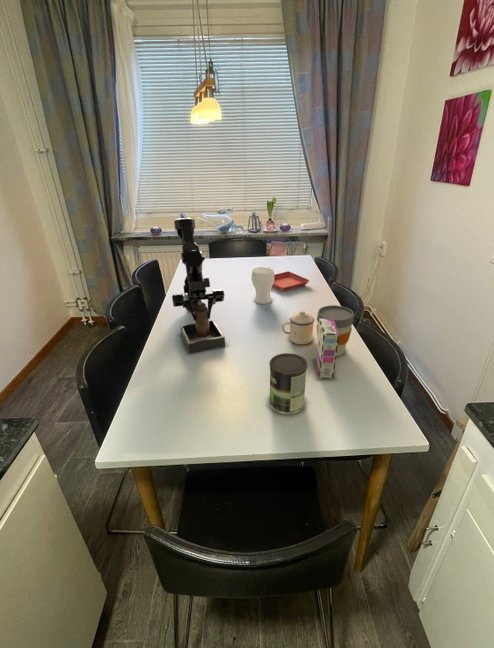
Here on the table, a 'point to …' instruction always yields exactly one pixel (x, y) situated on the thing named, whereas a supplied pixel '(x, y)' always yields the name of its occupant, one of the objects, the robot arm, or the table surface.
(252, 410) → the table surface
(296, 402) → the coffee can
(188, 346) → the dark grey tray
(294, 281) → the plant saucer
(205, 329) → the pepper mill
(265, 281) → the white vase
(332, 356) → the candy bar box
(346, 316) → the reusable coffee cup
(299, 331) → the teacup with lid
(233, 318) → the table surface
